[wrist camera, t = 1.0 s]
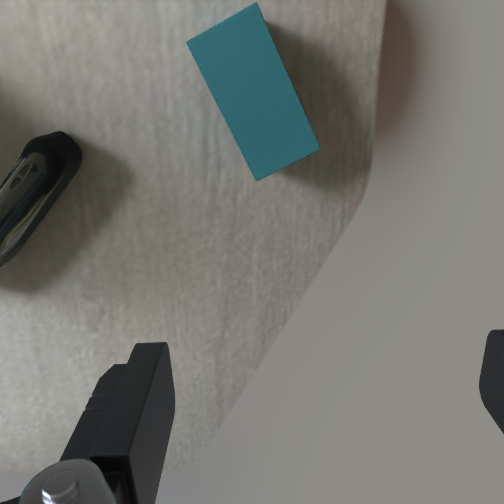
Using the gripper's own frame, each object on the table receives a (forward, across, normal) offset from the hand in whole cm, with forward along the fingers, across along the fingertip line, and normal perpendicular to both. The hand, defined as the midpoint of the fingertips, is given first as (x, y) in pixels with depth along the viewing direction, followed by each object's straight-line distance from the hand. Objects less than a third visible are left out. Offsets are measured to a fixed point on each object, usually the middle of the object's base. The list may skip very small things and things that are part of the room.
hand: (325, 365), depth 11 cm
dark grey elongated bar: (+22, +19, +2) cm, 29 cm away
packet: (+22, +1, -6) cm, 22 cm away
